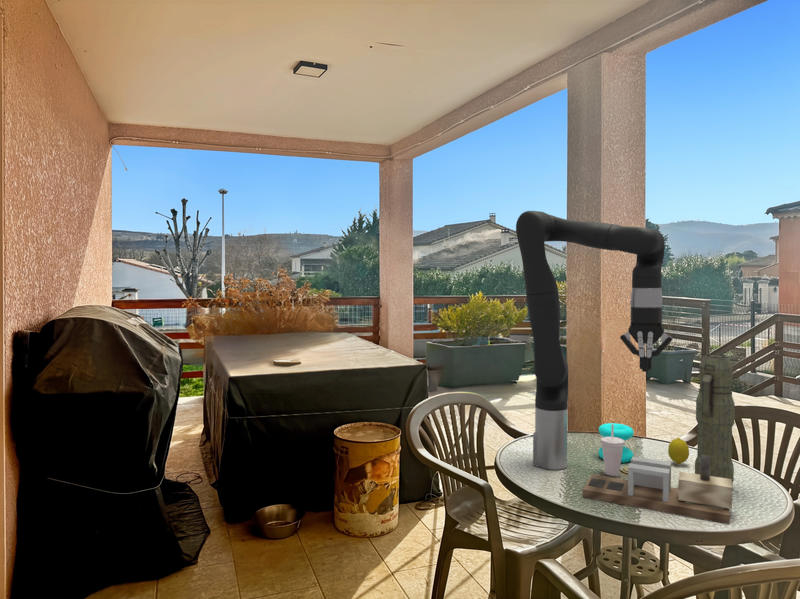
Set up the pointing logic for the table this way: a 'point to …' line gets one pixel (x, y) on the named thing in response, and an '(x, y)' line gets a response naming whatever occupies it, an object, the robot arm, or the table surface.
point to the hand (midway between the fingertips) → (645, 371)
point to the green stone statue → (715, 415)
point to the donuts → (619, 432)
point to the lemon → (678, 451)
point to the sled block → (705, 487)
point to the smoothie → (612, 453)
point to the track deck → (650, 499)
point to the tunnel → (649, 475)
